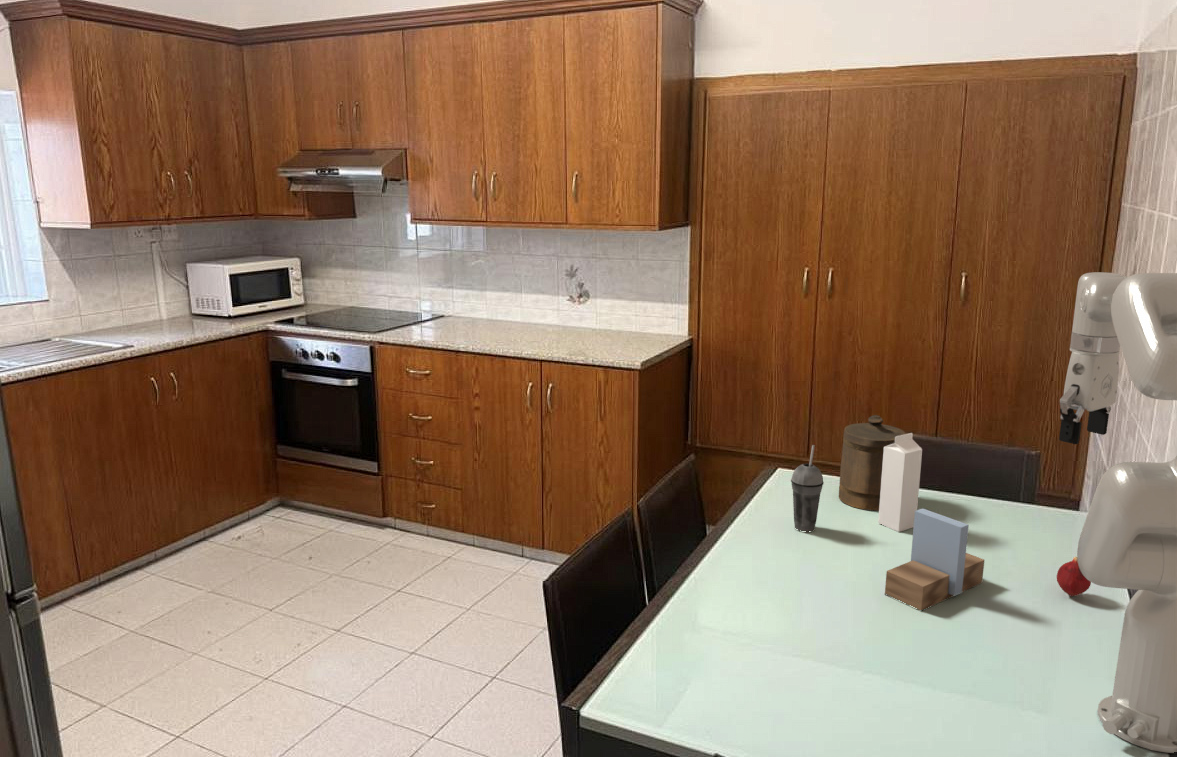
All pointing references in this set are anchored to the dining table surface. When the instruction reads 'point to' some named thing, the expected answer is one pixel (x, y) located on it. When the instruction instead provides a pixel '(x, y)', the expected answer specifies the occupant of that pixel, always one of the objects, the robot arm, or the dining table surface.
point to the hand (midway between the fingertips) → (1082, 437)
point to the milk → (900, 483)
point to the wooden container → (864, 462)
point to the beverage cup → (806, 495)
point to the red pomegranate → (1072, 578)
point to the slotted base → (929, 582)
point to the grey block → (940, 546)
